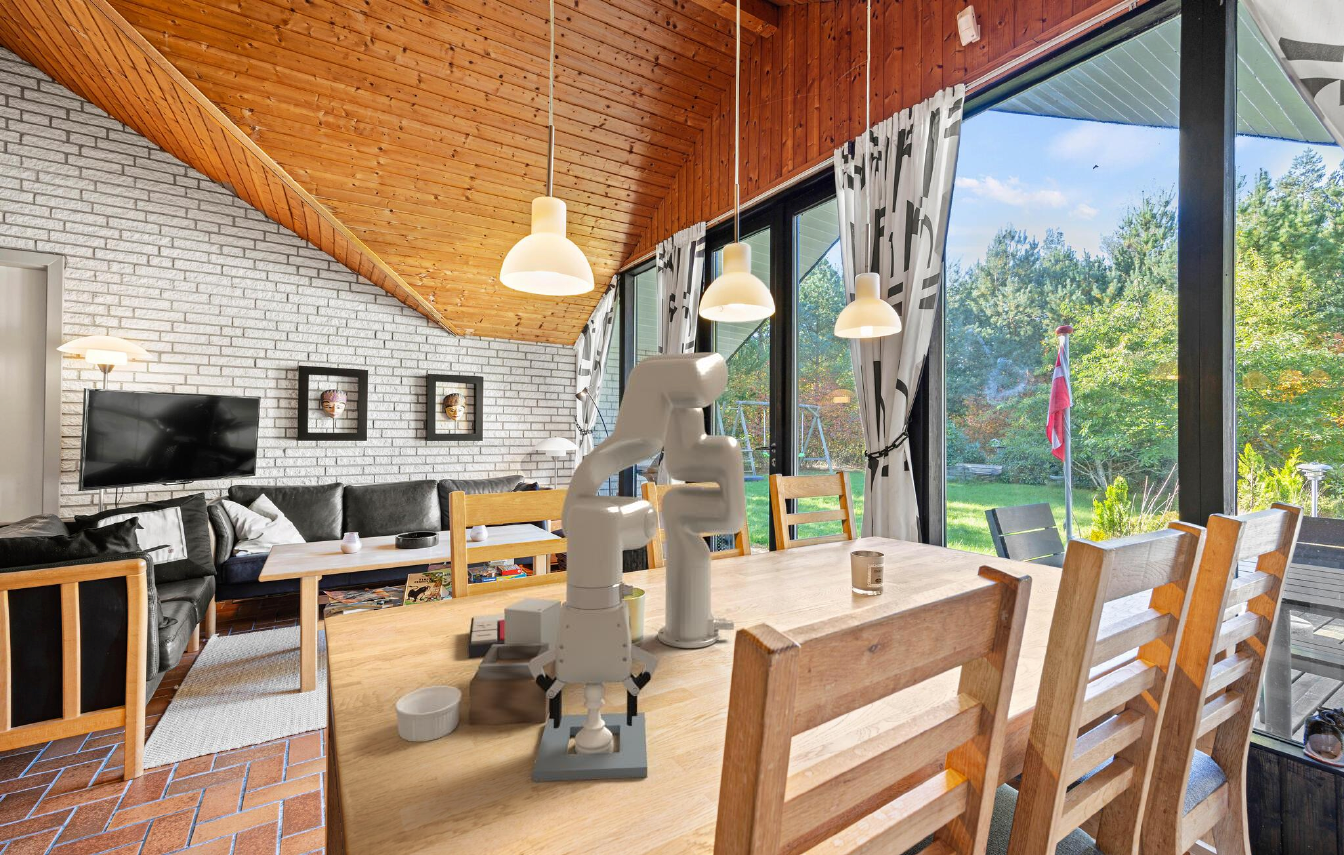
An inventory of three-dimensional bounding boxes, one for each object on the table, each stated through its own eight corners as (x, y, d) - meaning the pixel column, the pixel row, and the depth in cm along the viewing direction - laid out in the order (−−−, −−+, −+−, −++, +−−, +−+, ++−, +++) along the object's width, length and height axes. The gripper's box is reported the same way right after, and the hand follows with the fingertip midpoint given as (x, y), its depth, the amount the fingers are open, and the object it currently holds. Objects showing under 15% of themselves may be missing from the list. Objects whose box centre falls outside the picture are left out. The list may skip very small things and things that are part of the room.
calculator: (468, 641, 108) (471, 613, 122) (467, 663, 108) (471, 633, 122) (528, 635, 111) (524, 609, 125) (527, 657, 111) (524, 628, 125)
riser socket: (555, 689, 95) (555, 640, 95) (545, 722, 84) (545, 667, 84) (487, 691, 94) (488, 642, 94) (469, 724, 83) (469, 669, 83)
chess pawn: (618, 751, 76) (619, 683, 76) (584, 763, 74) (584, 692, 74) (602, 734, 80) (602, 670, 81) (569, 745, 78) (569, 678, 78)
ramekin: (420, 752, 76) (420, 719, 76) (381, 733, 81) (381, 702, 81) (474, 723, 84) (475, 694, 84) (436, 708, 88) (436, 680, 88)
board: (644, 720, 85) (644, 712, 85) (647, 776, 71) (647, 766, 71) (548, 723, 83) (548, 715, 84) (532, 781, 70) (532, 771, 70)
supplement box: (562, 670, 102) (563, 600, 103) (540, 688, 95) (540, 612, 96) (527, 665, 105) (527, 596, 105) (502, 681, 98) (503, 607, 98)
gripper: (657, 586, 82) (656, 707, 81) (534, 588, 80) (533, 711, 80) (659, 601, 74) (659, 734, 74) (524, 603, 73) (523, 739, 73)
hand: (593, 722), depth 77 cm, fingers open, 9 cm apart
